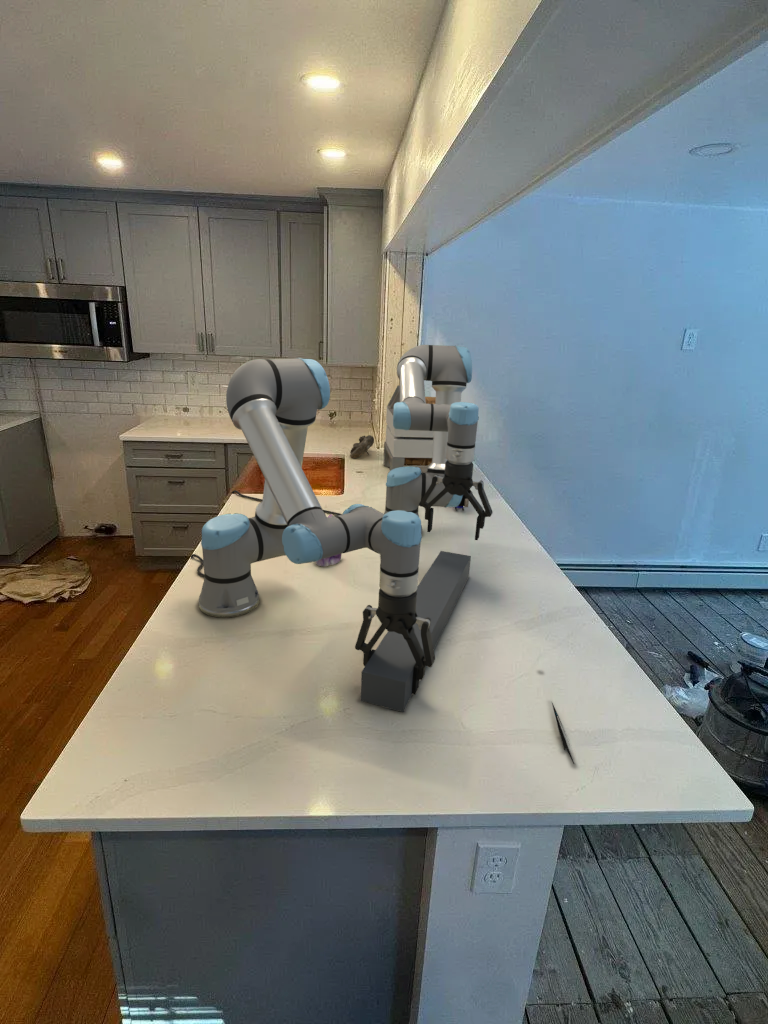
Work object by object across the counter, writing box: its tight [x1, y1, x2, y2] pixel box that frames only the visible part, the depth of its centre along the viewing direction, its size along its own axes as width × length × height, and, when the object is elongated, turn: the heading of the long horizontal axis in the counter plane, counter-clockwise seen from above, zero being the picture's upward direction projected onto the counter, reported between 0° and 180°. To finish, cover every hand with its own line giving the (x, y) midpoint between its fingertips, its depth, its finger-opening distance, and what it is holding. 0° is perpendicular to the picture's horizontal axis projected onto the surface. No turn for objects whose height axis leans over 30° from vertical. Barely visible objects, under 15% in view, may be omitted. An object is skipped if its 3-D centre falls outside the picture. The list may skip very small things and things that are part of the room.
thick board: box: [360, 550, 472, 713], centre depth 141 cm, size 65×9×7 cm, turn 161°
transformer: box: [383, 384, 436, 472], centre depth 268 cm, size 34×33×41 cm
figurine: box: [315, 513, 342, 567], centre depth 173 cm, size 9×10×15 cm
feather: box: [540, 670, 575, 765], centre depth 113 cm, size 2×28×2 cm
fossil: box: [349, 434, 375, 459], centre depth 303 cm, size 22×10×15 cm
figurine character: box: [454, 495, 470, 512], centre depth 229 cm, size 7×8×15 cm
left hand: (392, 684), depth 119 cm, fingers closed on thick board, 9 cm apart
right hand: (452, 534), depth 159 cm, fingers open, 13 cm apart
